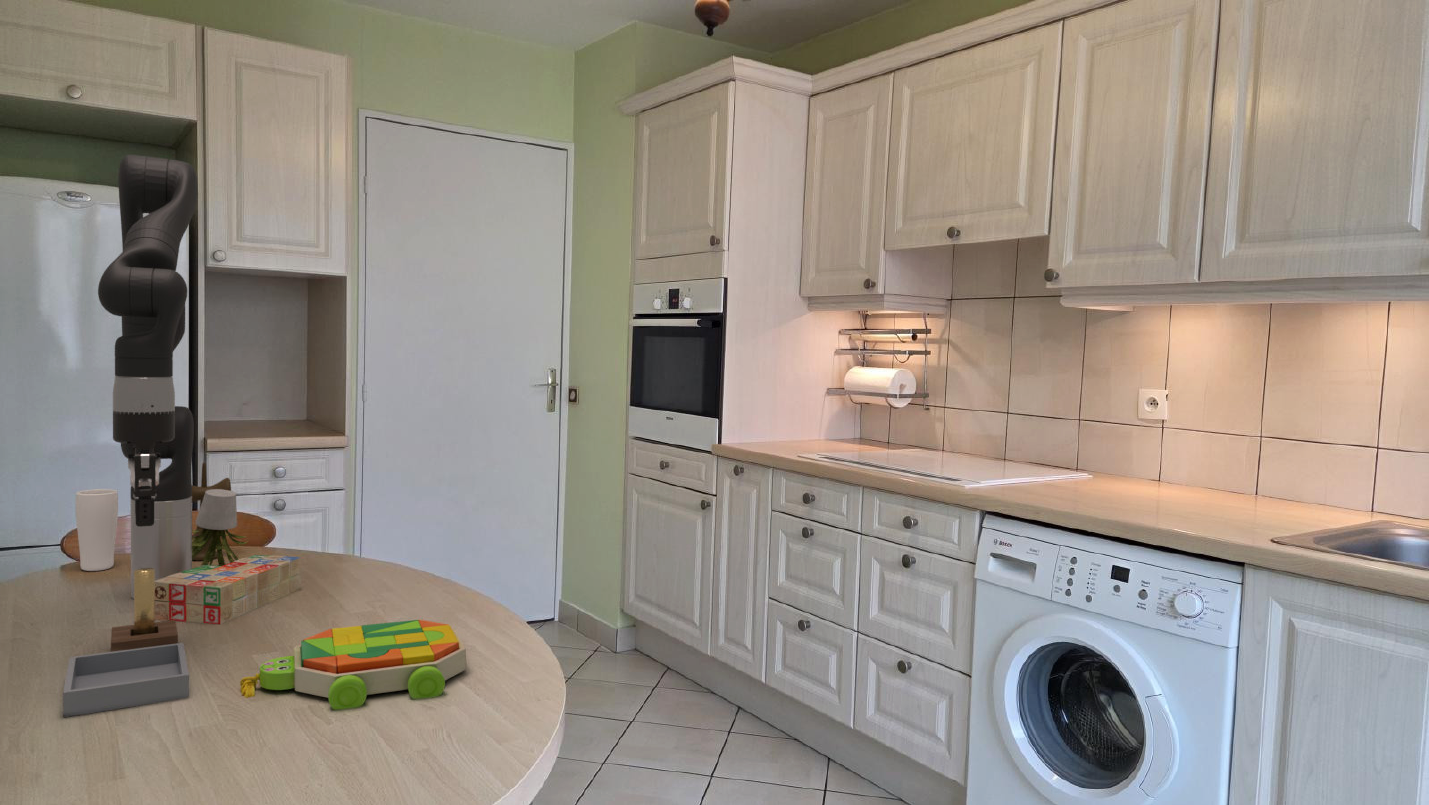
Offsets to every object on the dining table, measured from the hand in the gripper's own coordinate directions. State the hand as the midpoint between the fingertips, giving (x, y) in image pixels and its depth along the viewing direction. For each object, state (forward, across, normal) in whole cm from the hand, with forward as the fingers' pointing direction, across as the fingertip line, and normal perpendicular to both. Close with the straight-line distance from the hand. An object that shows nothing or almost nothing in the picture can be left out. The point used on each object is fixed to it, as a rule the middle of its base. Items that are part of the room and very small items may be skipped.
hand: (144, 520), depth 130 cm
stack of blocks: (+16, +16, -18) cm, 29 cm away
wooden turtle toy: (+20, -25, -24) cm, 40 cm away
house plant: (+3, +41, -14) cm, 44 cm away
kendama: (+19, +57, -11) cm, 61 cm away
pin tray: (+19, -15, +2) cm, 24 cm away
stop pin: (+19, 0, 0) cm, 19 cm away
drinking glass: (+19, +57, +7) cm, 61 cm away
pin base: (+19, 0, 0) cm, 19 cm away
